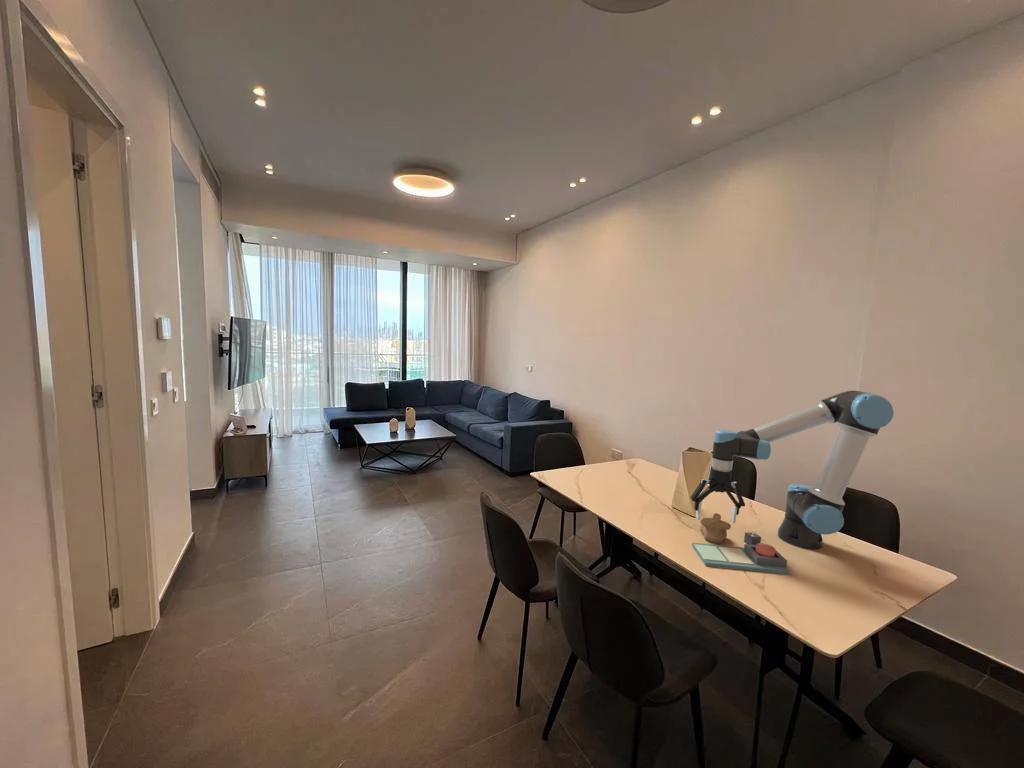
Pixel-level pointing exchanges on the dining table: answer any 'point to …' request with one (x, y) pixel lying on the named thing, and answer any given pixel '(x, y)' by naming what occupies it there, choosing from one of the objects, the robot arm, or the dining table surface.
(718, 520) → the figurine
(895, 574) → the dining table surface
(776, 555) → the board
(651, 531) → the dining table surface
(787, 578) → the dining table surface
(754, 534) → the die
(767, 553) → the dome button
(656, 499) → the dining table surface
